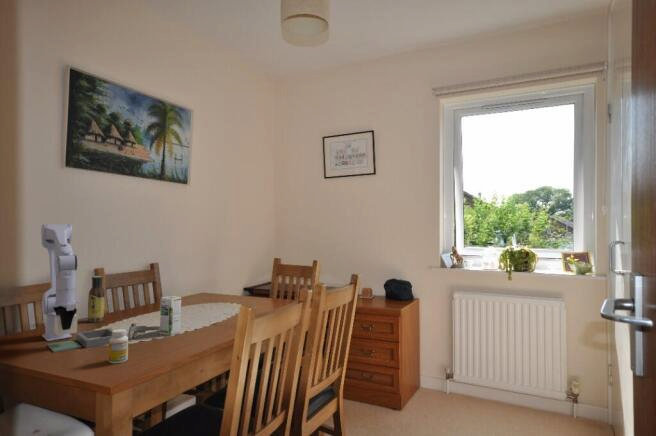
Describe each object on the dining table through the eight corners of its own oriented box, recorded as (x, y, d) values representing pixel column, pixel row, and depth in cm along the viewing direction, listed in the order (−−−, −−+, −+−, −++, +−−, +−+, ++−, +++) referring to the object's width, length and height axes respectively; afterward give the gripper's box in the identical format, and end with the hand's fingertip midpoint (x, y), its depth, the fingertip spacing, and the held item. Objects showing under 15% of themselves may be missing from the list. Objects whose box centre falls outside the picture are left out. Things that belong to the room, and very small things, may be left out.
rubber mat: (47, 345, 144) (47, 344, 144) (73, 341, 150) (73, 339, 150) (53, 352, 137) (53, 350, 137) (80, 347, 142) (80, 346, 142)
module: (53, 332, 143) (54, 313, 143) (73, 330, 147) (74, 311, 147) (56, 335, 140) (57, 316, 140) (76, 332, 144) (77, 313, 144)
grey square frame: (76, 339, 152) (76, 333, 152) (109, 334, 160) (109, 327, 160) (86, 348, 142) (86, 340, 142) (121, 341, 150) (121, 334, 150)
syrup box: (159, 334, 161) (159, 297, 161) (170, 330, 167) (170, 295, 167) (170, 335, 159) (171, 298, 159) (181, 332, 165) (181, 296, 165)
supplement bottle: (113, 358, 132) (114, 328, 132) (130, 358, 133) (131, 328, 133) (105, 364, 127) (106, 332, 127) (123, 363, 127) (124, 332, 127)
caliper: (130, 341, 152) (130, 324, 152) (128, 340, 152) (128, 324, 153) (171, 328, 171) (172, 313, 171) (169, 328, 171) (170, 313, 171)
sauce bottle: (85, 321, 180) (86, 276, 180) (100, 318, 184) (101, 275, 185) (91, 323, 175) (92, 277, 176) (106, 321, 180) (107, 276, 181)
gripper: (84, 290, 141) (83, 329, 141) (73, 285, 151) (72, 322, 151) (60, 292, 136) (59, 333, 136) (50, 287, 146) (49, 325, 146)
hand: (64, 327), depth 143 cm, fingers closed on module, 4 cm apart
